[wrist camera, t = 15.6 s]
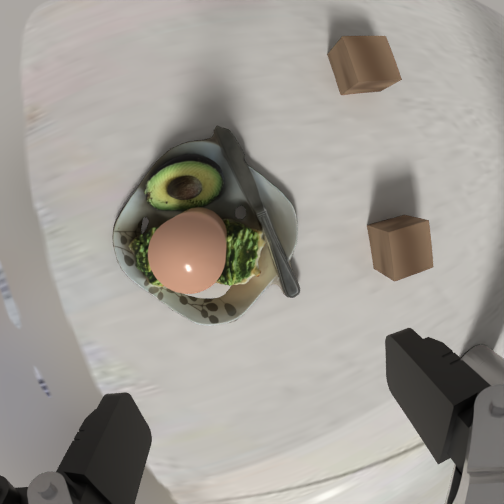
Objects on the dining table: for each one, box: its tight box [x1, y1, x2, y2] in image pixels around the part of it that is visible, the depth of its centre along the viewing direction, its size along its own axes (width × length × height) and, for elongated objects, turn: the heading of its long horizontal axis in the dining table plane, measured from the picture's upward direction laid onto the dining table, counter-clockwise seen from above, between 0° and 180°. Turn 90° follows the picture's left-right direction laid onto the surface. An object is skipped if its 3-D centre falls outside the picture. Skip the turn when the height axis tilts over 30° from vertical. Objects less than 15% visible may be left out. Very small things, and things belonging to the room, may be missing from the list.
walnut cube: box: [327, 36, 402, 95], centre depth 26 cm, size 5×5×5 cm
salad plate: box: [113, 126, 300, 325], centre depth 29 cm, size 19×18×5 cm
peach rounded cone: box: [148, 207, 227, 294], centre depth 23 cm, size 5×5×8 cm
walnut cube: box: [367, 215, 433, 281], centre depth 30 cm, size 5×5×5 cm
